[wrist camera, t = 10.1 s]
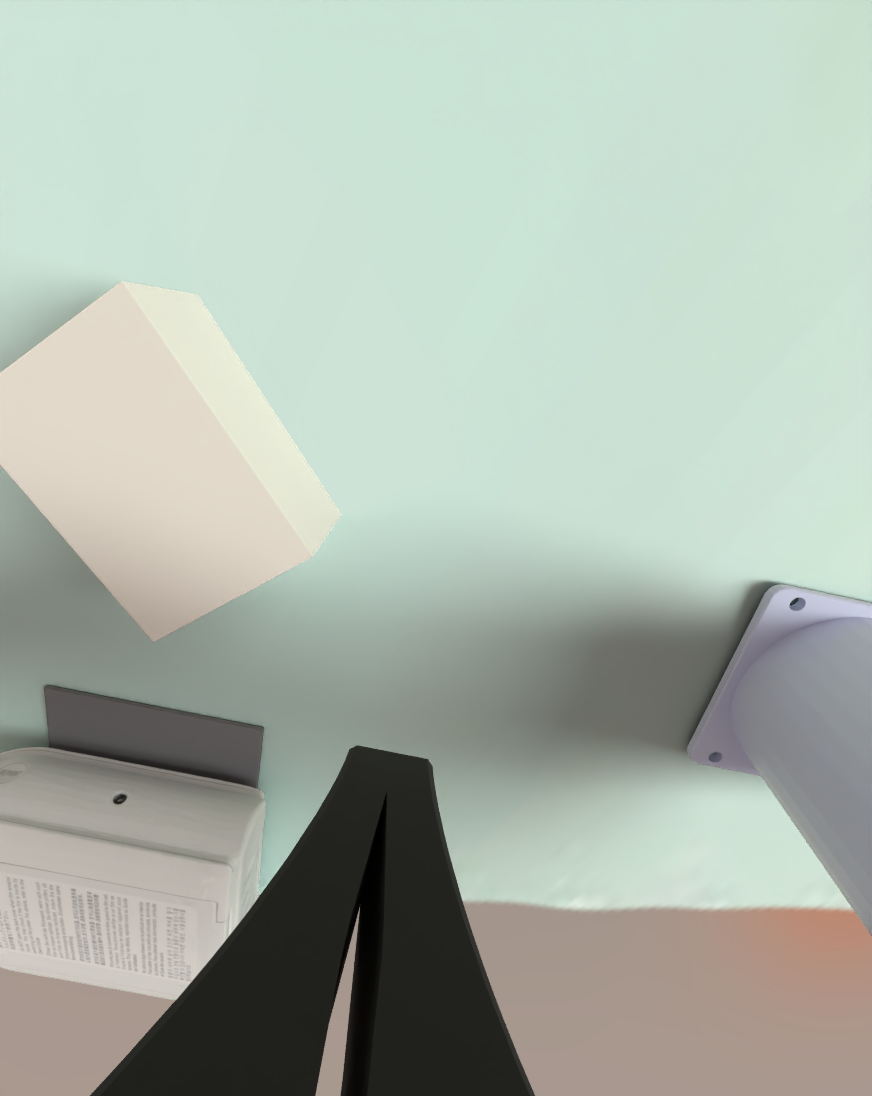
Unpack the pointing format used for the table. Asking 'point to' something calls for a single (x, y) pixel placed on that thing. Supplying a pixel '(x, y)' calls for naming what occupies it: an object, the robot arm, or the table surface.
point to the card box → (159, 457)
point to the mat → (153, 736)
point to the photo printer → (121, 869)
